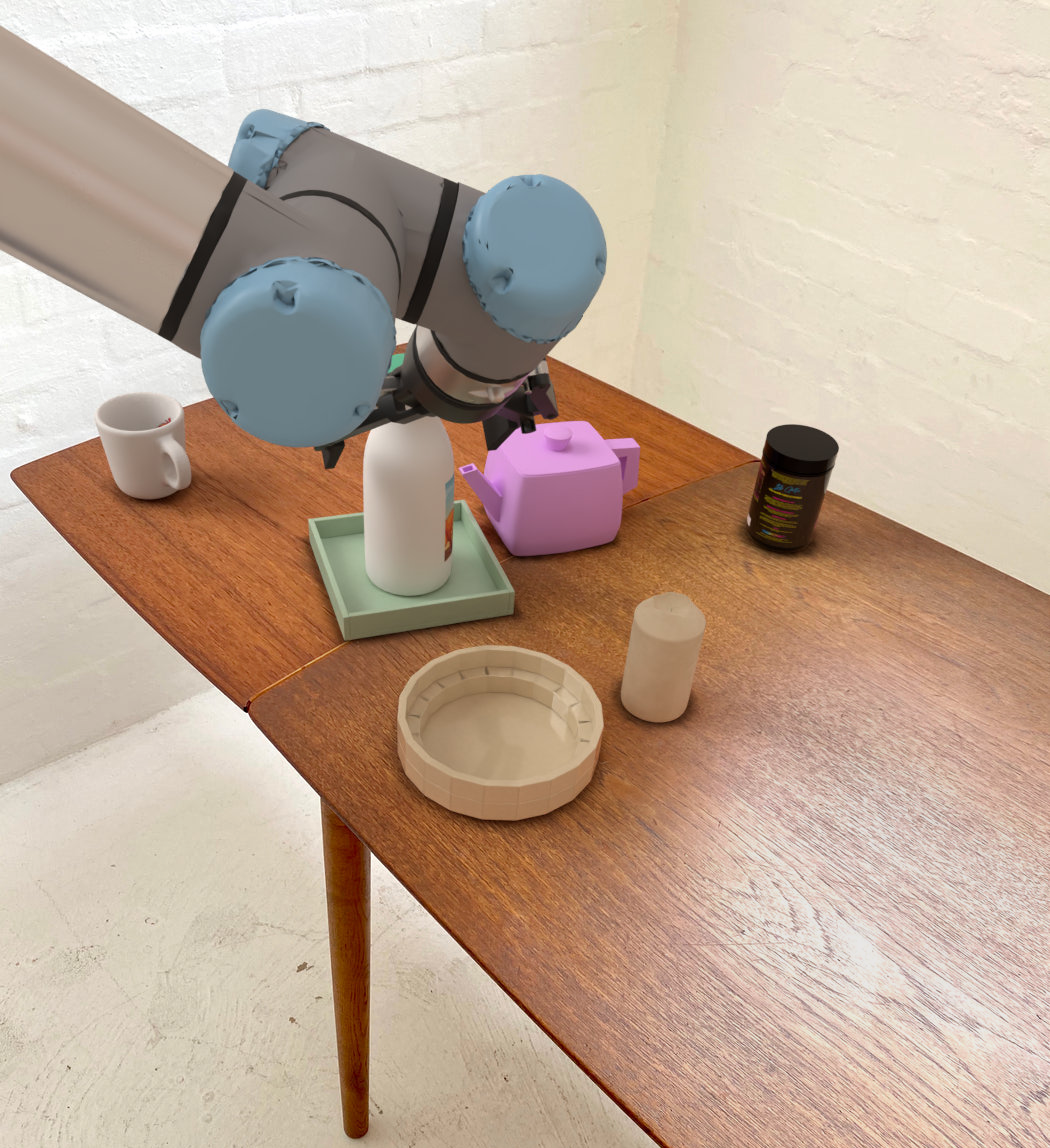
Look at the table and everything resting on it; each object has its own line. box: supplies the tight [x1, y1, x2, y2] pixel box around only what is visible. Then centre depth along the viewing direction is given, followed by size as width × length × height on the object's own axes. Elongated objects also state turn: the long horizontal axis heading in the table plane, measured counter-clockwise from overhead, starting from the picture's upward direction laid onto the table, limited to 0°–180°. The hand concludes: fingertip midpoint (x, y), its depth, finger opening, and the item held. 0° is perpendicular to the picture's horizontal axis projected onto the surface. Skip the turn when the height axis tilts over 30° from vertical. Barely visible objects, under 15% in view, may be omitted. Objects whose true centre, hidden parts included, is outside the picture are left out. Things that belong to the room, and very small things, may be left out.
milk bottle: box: [362, 352, 455, 596], centre depth 93 cm, size 8×8×20 cm
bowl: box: [396, 644, 605, 821], centre depth 84 cm, size 15×15×4 cm
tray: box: [307, 499, 516, 642], centre depth 99 cm, size 15×15×2 cm
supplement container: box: [745, 423, 840, 554], centre depth 106 cm, size 7×7×10 cm
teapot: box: [458, 420, 641, 557], centre depth 105 cm, size 18×10×10 cm, turn 111°
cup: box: [94, 391, 192, 500], centre depth 105 cm, size 11×8×8 cm
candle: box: [620, 591, 707, 723], centre depth 87 cm, size 6×6×10 cm
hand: (409, 443), depth 90 cm, fingers open, 13 cm apart
